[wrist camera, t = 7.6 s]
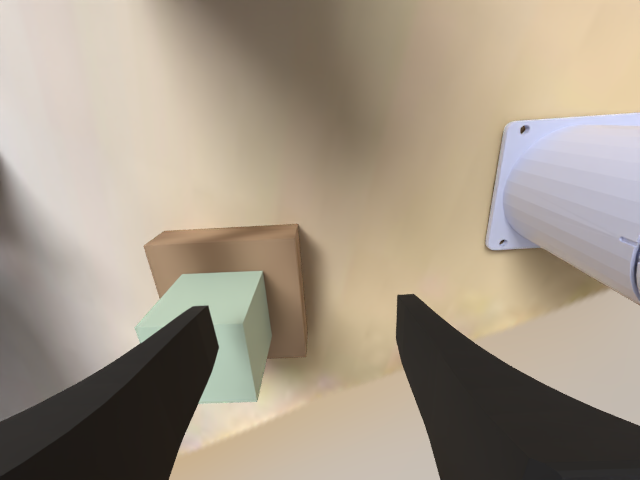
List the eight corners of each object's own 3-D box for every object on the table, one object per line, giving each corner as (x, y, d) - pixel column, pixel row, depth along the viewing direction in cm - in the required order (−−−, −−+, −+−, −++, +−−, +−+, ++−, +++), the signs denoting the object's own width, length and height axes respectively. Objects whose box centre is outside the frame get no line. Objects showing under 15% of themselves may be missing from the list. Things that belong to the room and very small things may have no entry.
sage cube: (262, 270, 18) (242, 323, 13) (271, 335, 20) (257, 401, 15) (181, 274, 18) (134, 327, 14) (198, 338, 20) (162, 404, 15)
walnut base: (298, 221, 20) (294, 238, 17) (307, 328, 23) (306, 356, 21) (167, 228, 20) (143, 245, 18) (195, 333, 24) (179, 362, 21)
